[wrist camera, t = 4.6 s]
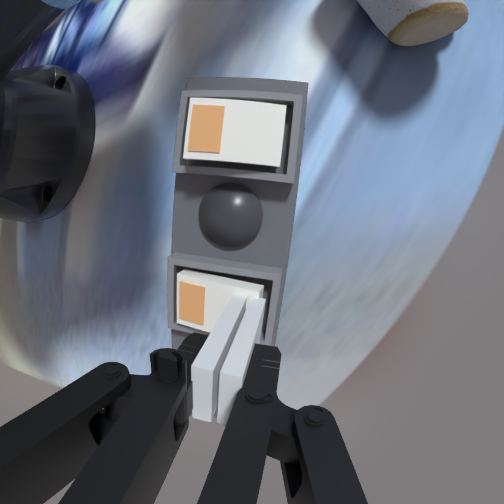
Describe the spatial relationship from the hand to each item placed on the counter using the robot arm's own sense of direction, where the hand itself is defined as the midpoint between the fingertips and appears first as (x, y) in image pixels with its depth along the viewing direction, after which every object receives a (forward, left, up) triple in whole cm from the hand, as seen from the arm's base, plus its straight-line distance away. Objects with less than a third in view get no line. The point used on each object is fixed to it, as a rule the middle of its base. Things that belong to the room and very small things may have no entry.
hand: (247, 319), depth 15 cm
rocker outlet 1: (-2, +10, -1) cm, 10 cm away
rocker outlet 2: (-2, 0, -1) cm, 2 cm away
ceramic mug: (+9, +24, -6) cm, 26 cm away
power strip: (-2, +3, -6) cm, 7 cm away
